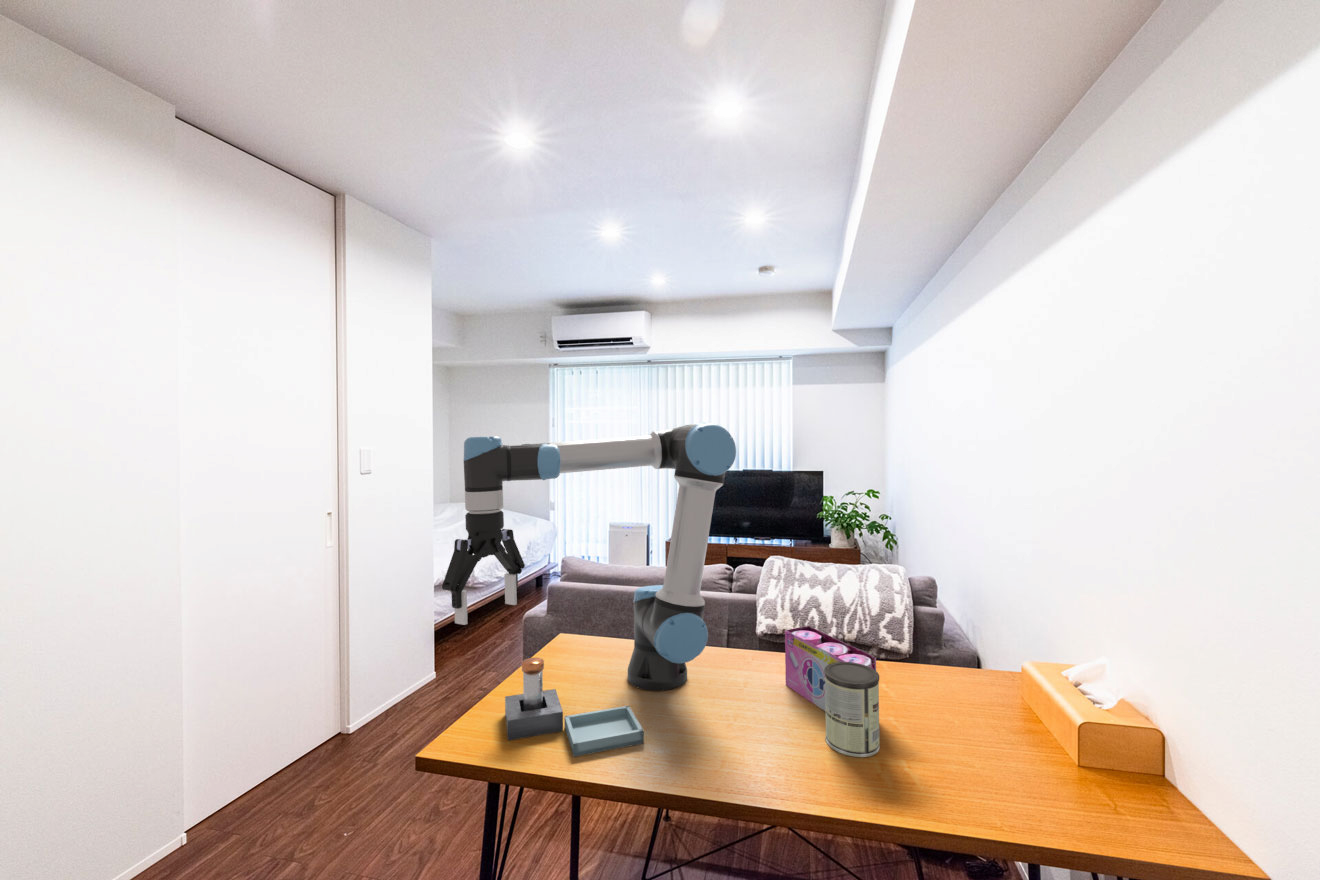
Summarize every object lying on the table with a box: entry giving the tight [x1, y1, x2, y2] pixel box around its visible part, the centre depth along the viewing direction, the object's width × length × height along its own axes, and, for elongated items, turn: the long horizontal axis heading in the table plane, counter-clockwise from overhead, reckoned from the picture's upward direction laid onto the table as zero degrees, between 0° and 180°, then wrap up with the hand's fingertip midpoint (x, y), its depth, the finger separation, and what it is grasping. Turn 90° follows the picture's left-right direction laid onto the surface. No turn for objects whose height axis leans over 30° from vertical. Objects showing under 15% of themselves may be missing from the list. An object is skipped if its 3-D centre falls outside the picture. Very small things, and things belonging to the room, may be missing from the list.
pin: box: [521, 657, 545, 711], centre depth 116 cm, size 5×5×13 cm
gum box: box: [784, 625, 877, 712], centre depth 124 cm, size 24×8×14 cm, turn 23°
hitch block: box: [504, 688, 564, 741], centre depth 116 cm, size 11×11×4 cm
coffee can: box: [824, 662, 881, 758], centre depth 108 cm, size 10×10×14 cm
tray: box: [564, 705, 645, 757], centre depth 111 cm, size 14×11×2 cm
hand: (487, 613), depth 113 cm, fingers open, 13 cm apart
